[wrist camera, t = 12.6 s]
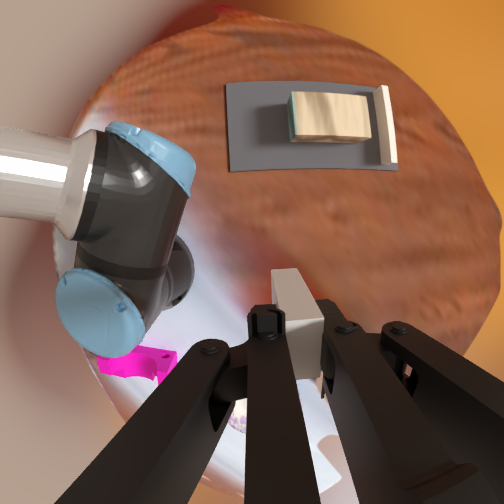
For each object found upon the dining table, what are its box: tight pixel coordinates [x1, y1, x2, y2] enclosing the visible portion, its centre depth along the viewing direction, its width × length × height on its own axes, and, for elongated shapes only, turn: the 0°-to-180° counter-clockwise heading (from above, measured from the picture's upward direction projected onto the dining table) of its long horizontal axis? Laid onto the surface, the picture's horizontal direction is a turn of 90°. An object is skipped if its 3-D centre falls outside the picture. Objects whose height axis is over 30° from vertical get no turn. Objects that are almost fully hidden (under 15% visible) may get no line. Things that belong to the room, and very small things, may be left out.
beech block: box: [287, 92, 371, 144], centre depth 38 cm, size 6×7×12 cm
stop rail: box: [373, 85, 397, 165], centre depth 39 cm, size 1×14×4 cm, turn 3°
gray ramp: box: [226, 81, 398, 172], centre depth 41 cm, size 30×16×1 cm, turn 93°
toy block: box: [96, 345, 177, 385], centre depth 48 cm, size 15×6×8 cm, turn 86°
